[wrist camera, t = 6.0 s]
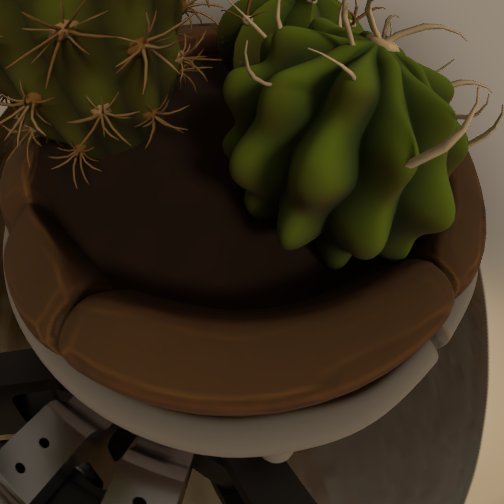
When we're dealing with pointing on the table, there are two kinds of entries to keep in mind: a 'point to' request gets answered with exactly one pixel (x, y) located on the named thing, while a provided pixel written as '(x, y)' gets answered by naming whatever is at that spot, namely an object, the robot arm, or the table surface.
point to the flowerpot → (234, 215)
